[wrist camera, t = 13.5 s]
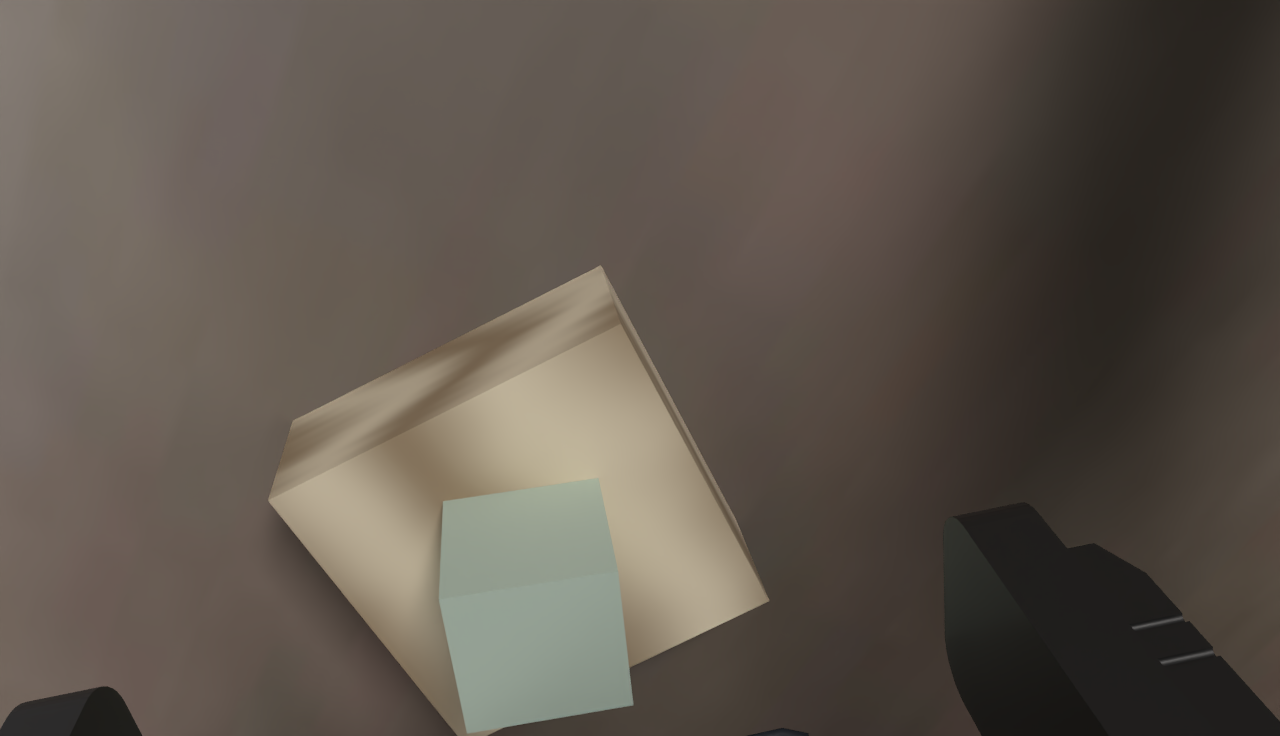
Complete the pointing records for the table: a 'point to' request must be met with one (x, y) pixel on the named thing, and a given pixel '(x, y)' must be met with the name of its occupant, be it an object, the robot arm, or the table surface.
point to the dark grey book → (781, 733)
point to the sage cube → (533, 605)
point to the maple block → (515, 477)
